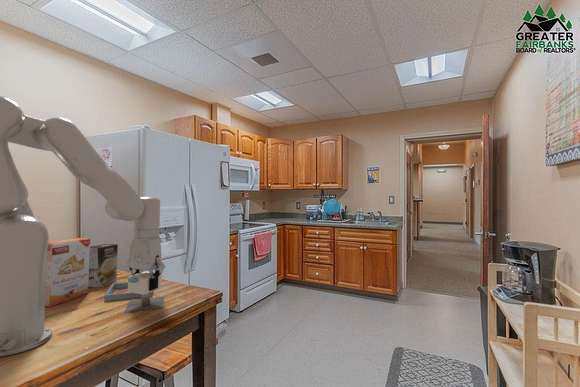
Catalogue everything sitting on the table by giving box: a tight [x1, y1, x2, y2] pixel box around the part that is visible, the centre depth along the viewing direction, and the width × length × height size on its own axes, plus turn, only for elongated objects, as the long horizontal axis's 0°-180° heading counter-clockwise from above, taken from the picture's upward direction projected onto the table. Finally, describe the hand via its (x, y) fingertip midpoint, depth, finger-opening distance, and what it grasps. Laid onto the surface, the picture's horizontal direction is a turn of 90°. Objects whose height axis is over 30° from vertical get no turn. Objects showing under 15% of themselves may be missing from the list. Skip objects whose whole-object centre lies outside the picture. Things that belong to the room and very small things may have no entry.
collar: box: [127, 270, 163, 295], centre depth 91 cm, size 9×7×5 cm
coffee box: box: [88, 243, 119, 289], centre depth 116 cm, size 9×6×16 cm
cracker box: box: [45, 237, 91, 308], centre depth 98 cm, size 14×6×21 cm, turn 168°
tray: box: [103, 281, 153, 303], centre depth 104 cm, size 14×14×3 cm
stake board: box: [123, 293, 165, 314], centre depth 92 cm, size 11×11×7 cm
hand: (144, 287), depth 92 cm, fingers closed on collar, 7 cm apart
